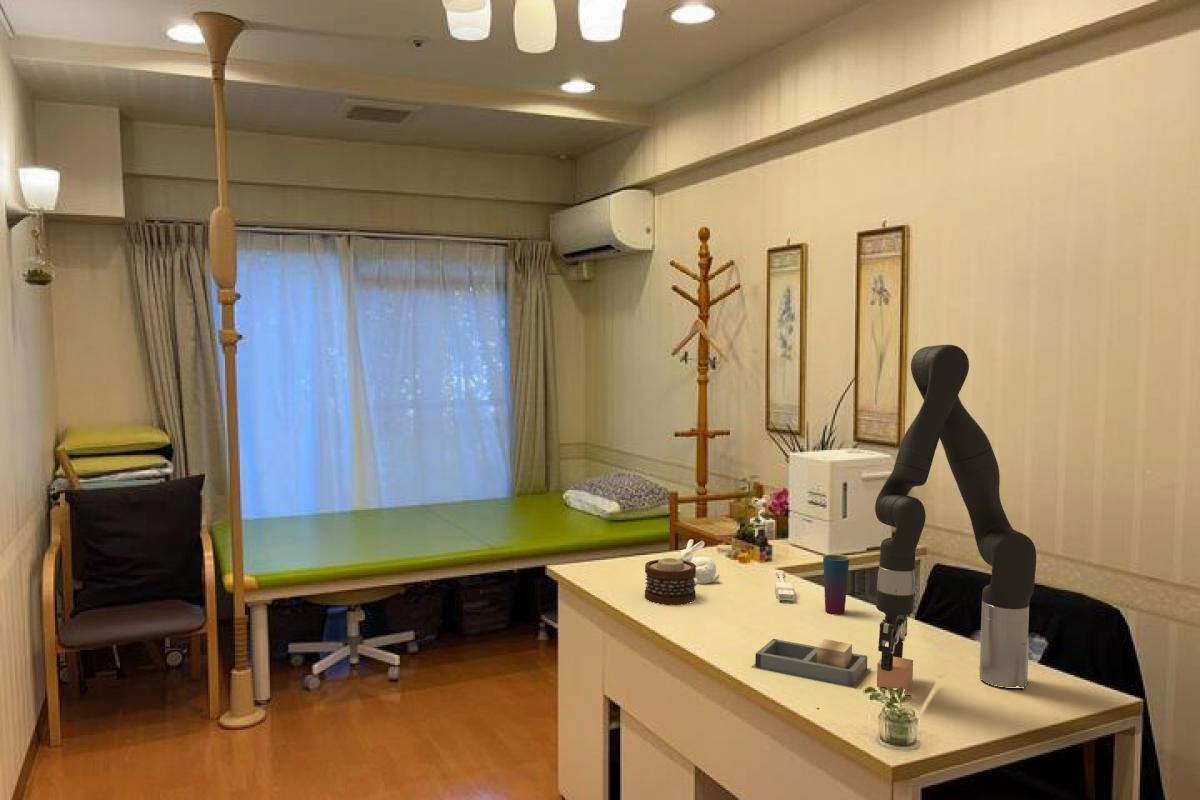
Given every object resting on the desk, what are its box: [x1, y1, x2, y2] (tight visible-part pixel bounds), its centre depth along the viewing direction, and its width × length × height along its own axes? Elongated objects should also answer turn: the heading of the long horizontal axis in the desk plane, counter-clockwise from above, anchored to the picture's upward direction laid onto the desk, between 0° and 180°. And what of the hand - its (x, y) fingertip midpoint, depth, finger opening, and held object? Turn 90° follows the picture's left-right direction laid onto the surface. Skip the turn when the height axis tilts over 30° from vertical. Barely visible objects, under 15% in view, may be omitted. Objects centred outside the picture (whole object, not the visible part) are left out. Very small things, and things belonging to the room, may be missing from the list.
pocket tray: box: [751, 638, 872, 689], centre depth 198 cm, size 23×13×4 cm, turn 59°
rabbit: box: [678, 539, 721, 585], centre depth 273 cm, size 12×9×12 cm
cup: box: [822, 554, 850, 616], centre depth 242 cm, size 7×7×15 cm
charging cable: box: [774, 569, 796, 601], centre depth 266 cm, size 5×32×3 cm, turn 172°
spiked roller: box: [644, 557, 697, 606], centre depth 255 cm, size 15×11×15 cm
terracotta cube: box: [876, 656, 914, 693], centre depth 189 cm, size 6×6×6 cm
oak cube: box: [816, 638, 853, 669], centre depth 195 cm, size 6×6×6 cm
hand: (891, 664), depth 189 cm, fingers open, 8 cm apart
